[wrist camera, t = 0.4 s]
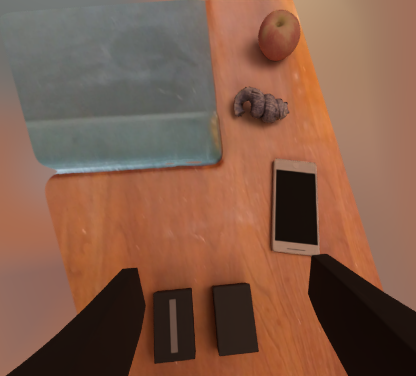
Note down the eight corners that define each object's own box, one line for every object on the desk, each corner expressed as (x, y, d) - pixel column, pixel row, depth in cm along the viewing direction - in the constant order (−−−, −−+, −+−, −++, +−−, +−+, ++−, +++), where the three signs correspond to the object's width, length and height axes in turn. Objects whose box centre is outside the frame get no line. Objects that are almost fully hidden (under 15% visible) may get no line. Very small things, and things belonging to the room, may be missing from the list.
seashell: (230, 114, 46) (281, 125, 46) (231, 115, 41) (288, 127, 41) (237, 84, 45) (290, 96, 45) (238, 82, 40) (298, 94, 40)
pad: (253, 344, 33) (258, 351, 30) (217, 348, 33) (219, 356, 30) (245, 282, 36) (249, 283, 33) (212, 285, 35) (213, 287, 33)
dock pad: (195, 351, 33) (195, 359, 30) (158, 355, 32) (154, 364, 29) (191, 287, 35) (190, 289, 32) (157, 291, 35) (153, 293, 32)
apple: (250, 41, 51) (259, 2, 43) (285, 38, 52) (300, -1, 44) (258, 71, 48) (269, 34, 41) (295, 68, 49) (312, 31, 41)
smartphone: (314, 164, 42) (316, 162, 41) (317, 256, 37) (320, 256, 36) (273, 160, 42) (274, 157, 41) (271, 251, 37) (272, 250, 36)
